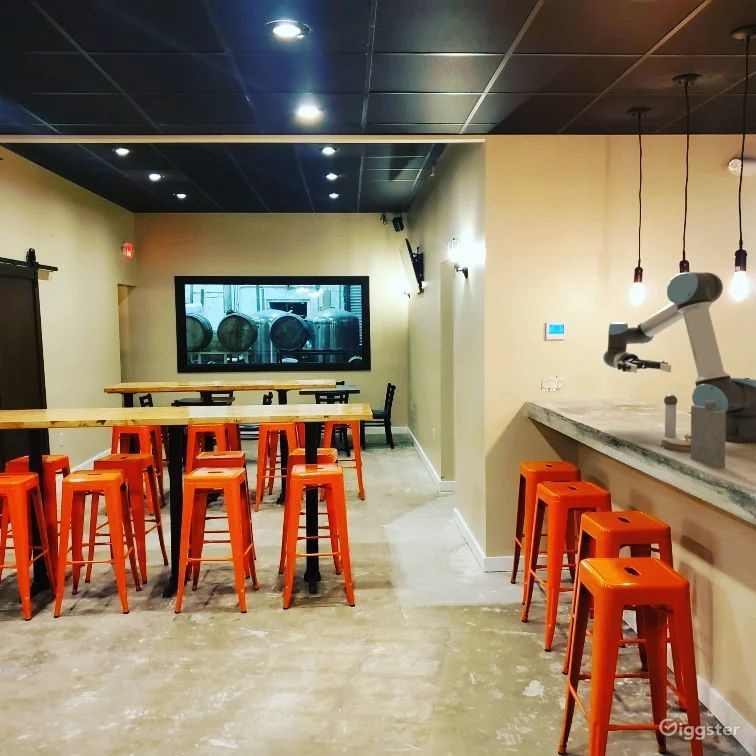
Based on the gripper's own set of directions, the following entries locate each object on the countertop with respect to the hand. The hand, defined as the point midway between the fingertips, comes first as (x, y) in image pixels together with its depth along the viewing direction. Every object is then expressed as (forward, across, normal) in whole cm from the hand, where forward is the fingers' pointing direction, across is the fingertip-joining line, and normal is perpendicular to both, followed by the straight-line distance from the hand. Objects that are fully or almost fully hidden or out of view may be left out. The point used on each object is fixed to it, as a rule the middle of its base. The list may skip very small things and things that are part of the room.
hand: (653, 368), depth 238 cm
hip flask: (+42, +2, -25) cm, 49 cm away
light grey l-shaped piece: (+19, -5, -24) cm, 31 cm away
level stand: (+19, -5, -26) cm, 32 cm away
